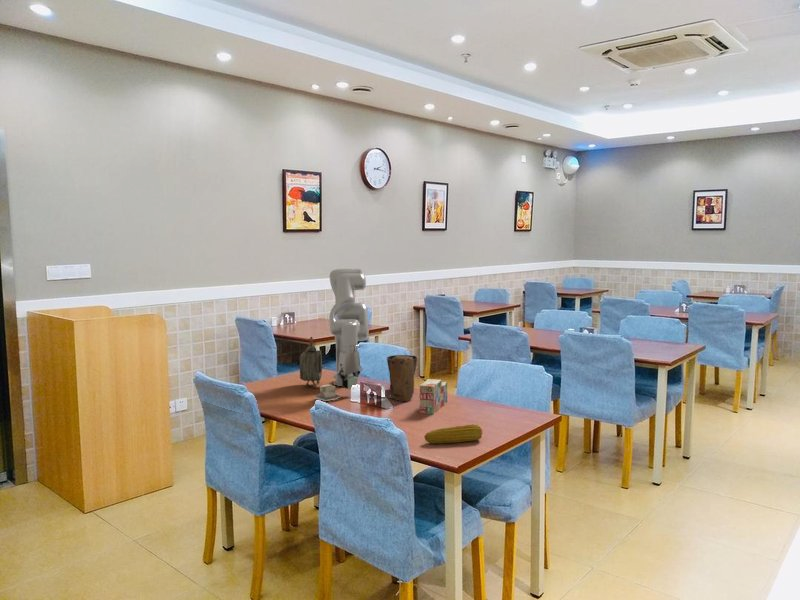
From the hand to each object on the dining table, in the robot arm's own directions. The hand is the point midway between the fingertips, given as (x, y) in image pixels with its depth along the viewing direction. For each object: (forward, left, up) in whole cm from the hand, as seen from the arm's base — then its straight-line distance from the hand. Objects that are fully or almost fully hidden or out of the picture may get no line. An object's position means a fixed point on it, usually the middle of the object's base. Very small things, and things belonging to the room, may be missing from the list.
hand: (349, 386), depth 273 cm
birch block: (-3, -11, -4) cm, 12 cm away
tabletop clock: (-29, -2, -5) cm, 30 cm away
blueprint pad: (-3, -11, -5) cm, 12 cm away
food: (+77, -14, -5) cm, 79 cm away
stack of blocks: (+41, +14, -5) cm, 43 cm away
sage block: (0, 0, -1) cm, 1 cm away
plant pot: (+8, +26, -5) cm, 28 cm away
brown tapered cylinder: (+21, +13, -5) cm, 25 cm away
